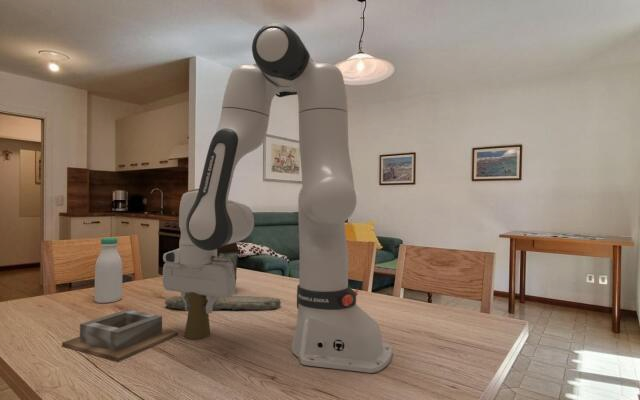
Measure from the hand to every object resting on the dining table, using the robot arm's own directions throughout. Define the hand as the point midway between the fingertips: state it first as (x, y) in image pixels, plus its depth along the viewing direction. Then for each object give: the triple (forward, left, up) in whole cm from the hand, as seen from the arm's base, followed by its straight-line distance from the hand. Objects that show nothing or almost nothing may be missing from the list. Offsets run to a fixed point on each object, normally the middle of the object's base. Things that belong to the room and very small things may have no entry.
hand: (198, 311), depth 89 cm
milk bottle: (+46, -11, -6) cm, 48 cm away
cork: (0, 0, -6) cm, 6 cm away
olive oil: (+20, -35, -6) cm, 41 cm away
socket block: (+13, +10, -6) cm, 18 cm away
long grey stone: (+9, -21, -6) cm, 24 cm away
